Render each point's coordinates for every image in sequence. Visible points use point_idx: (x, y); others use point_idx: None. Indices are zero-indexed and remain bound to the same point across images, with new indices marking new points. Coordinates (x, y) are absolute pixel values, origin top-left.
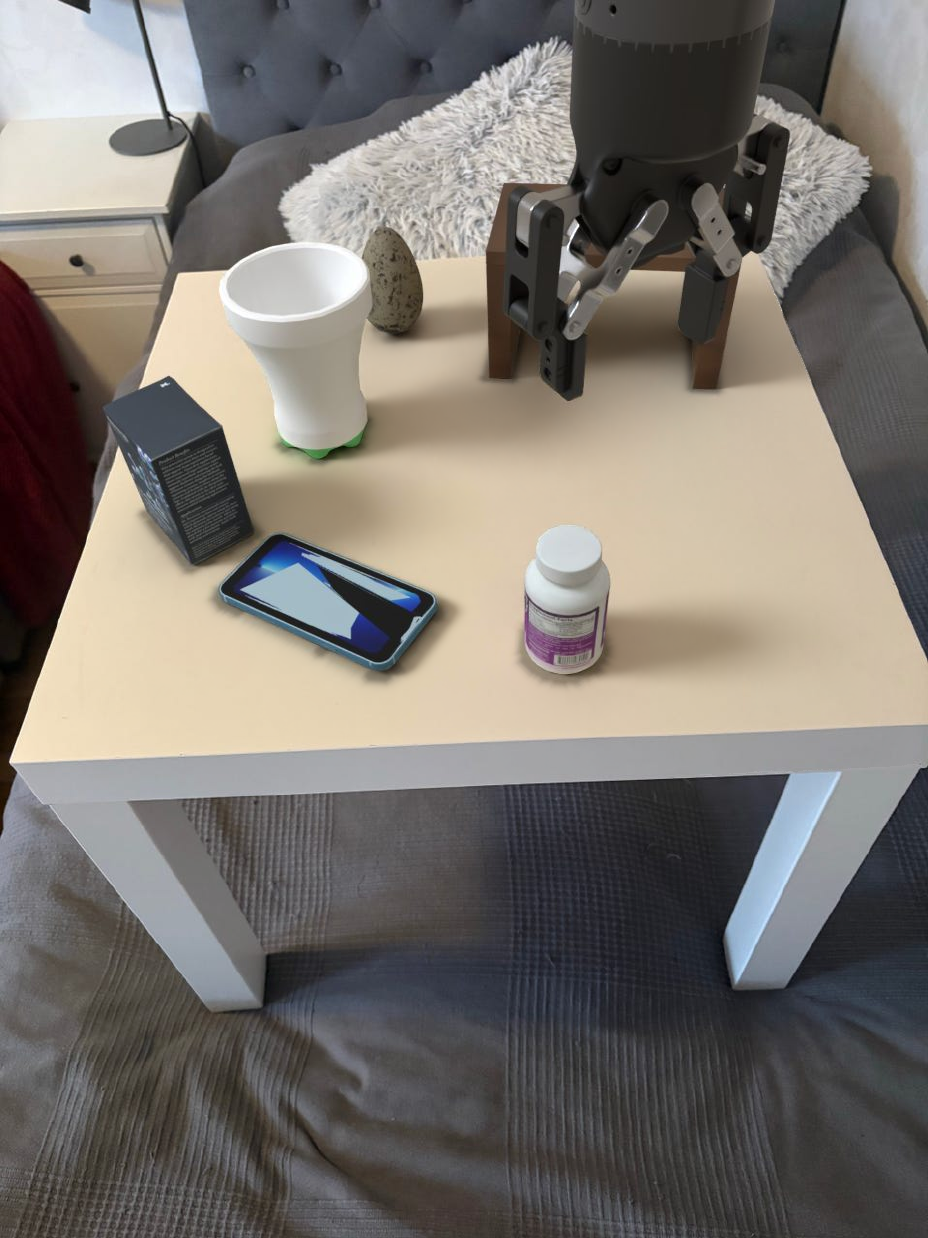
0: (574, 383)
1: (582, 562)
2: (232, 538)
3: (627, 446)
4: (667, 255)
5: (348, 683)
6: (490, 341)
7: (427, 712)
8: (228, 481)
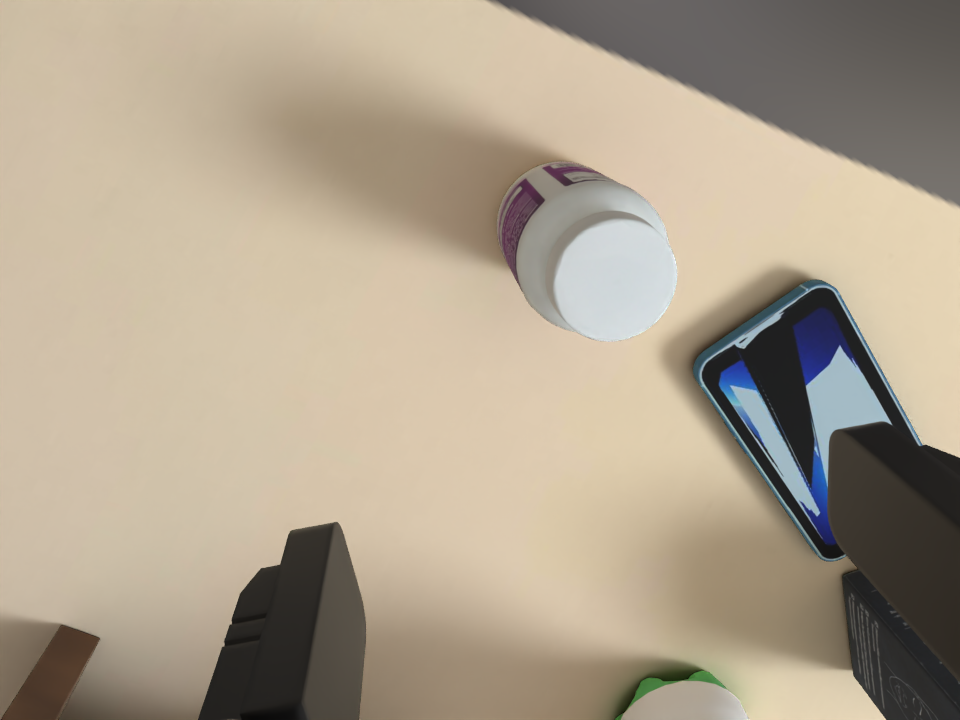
0: (913, 449)
1: (613, 236)
2: None
3: (266, 557)
4: None
5: (860, 283)
6: None
7: (793, 189)
8: (923, 646)
